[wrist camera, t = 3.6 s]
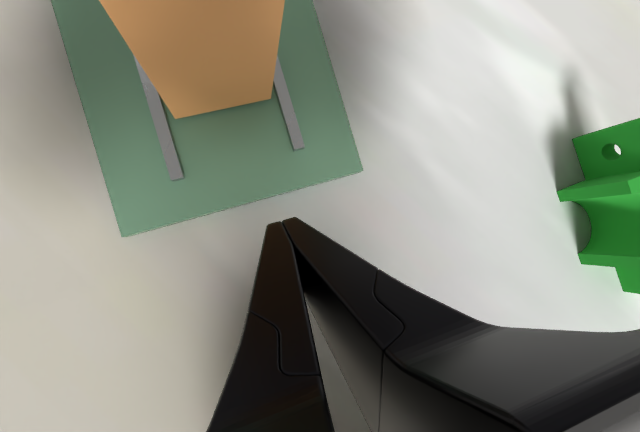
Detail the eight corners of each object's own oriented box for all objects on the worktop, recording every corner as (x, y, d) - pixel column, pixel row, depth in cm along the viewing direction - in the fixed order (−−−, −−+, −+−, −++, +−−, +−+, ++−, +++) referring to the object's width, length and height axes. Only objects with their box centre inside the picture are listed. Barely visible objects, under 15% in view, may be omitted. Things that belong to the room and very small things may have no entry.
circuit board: (359, 172, 20) (363, 170, 19) (126, 237, 17) (121, 237, 16) (252, -185, 20) (252, -198, 19) (2, -178, 17) (-7, -193, 16)
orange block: (270, 98, 18) (294, -69, 8) (175, 119, 17) (69, -46, 7) (260, 63, 18) (271, -147, 8) (163, 81, 17) (42, -136, 7)
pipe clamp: (539, 150, 23) (610, 128, 18) (580, 135, 23) (658, 111, 19) (592, 305, 23) (677, 322, 18) (632, 285, 23) (723, 297, 19)
